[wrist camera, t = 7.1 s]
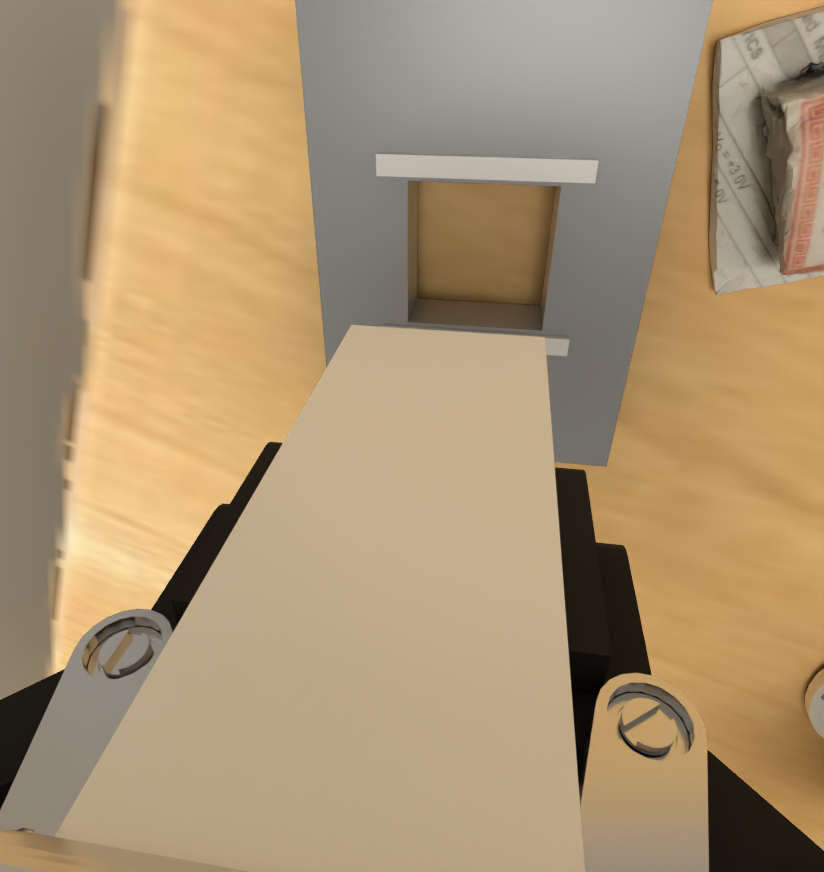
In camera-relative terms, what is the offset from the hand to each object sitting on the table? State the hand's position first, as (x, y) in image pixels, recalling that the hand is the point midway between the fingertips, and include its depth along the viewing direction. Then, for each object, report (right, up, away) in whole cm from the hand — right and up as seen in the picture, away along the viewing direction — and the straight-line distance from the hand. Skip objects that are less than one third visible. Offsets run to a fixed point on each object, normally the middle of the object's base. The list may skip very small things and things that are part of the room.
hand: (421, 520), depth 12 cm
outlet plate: (+3, +11, +16) cm, 20 cm away
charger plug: (+1, +2, +3) cm, 4 cm away
